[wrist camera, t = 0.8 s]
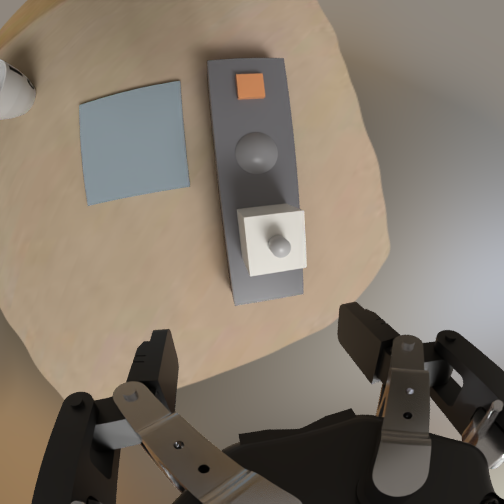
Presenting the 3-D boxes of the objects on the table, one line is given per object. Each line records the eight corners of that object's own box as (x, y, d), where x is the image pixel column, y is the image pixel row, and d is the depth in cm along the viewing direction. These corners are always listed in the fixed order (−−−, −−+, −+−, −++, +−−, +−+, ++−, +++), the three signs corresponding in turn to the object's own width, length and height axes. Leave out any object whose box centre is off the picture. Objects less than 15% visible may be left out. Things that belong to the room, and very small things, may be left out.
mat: (81, 106, 27) (79, 105, 26) (180, 82, 29) (179, 80, 28) (89, 205, 31) (87, 205, 30) (190, 186, 33) (189, 186, 32)
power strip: (207, 72, 29) (207, 58, 24) (275, 69, 30) (285, 55, 25) (231, 292, 38) (235, 308, 33) (294, 282, 39) (305, 296, 34)
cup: (51, 79, 24) (15, 61, 15) (28, 130, 26) (-13, 124, 16) (21, 73, 22) (-14, 57, 13) (0, 120, 24) (-38, 114, 14)
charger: (234, 207, 32) (246, 220, 23) (281, 201, 33) (309, 213, 24) (240, 253, 34) (252, 282, 25) (285, 246, 35) (312, 272, 26)
